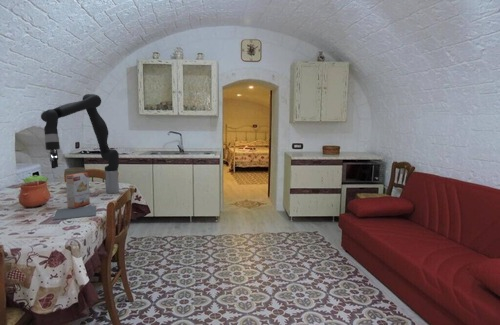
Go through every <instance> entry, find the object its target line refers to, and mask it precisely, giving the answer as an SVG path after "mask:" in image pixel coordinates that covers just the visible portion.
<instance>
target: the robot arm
mask: <svg viewBox="0 0 500 325" xmlns="http://www.w3.org/2000/svg"><path fill="white" fill-rule="evenodd" d="M101 104H102V99H101V96H99V95H98V94H94V93H92V94H91V93H86V94H85V95H83V96H82V100H79V101H78V100H77V101H74V102H69V103H66V104H63V105H59V106H57V107H55V108H52V109H47V110H45V111H43V112H42V113H41V114H40V118H41V120H42V122H44V123H45V126H44V127H43V128H44V129H43V130H44V143H45V150H46V151H49V154H48V155H49V161H50V163H51V169H56V168H58V167H59V164H58V162H59V156H58V155H59V154H58V151H59V150H60V149H61V145H60V138H59V133H58V131H59V130H58V123H59V119H61V118H64V117H67V116H70V115H73V114H76V113H78V112H81V111H84V110H86V112H87V115H88V117H89V120H90V123H91V125H92V129H93V132H94V135H95V138H96V140H97V145H98V147H99V151H100V156H101V159H102V160H103V161H105V162H108V165H106V166H104V182H105V194H111V195H112V194H118V193H119V192H120V186H119V182H120V181H119V171H118V170H119V166H120V164H119V163H120V160H119V159H120V156H119V152H118V150H116V149H113V148H112V149H110V147H109V144H108V139H109V129H108V126H107V123H106V121H105V120H104V119H103V117H102V116H101V114H100V113H99V112H98V110H97V108H98V107H99V106H101Z"/></svg>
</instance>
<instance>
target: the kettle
mask: <svg viewBox="0 0 500 325" xmlns="http://www.w3.org/2000/svg"><path fill="white" fill-rule="evenodd" d="M49 179H50V178H49V177H46V176H43V175H37V174H33V176H32V175H29V176H27V177H24V178H21V180H23V182H24V184H25V183H27V182H33V181H46V182H47V181H48V180H49Z"/></svg>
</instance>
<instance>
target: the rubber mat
mask: <svg viewBox="0 0 500 325" xmlns="http://www.w3.org/2000/svg"><path fill="white" fill-rule="evenodd" d="M96 216H97V205H87V206H86V205H84V206H80V207H77V208H68V207H66V208H58V209H56V211H55V212H54V216H53V218H52V221H61V220H71V219H80V218H81V219H82V218H88V217H96Z"/></svg>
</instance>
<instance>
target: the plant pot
mask: <svg viewBox="0 0 500 325" xmlns="http://www.w3.org/2000/svg"><path fill="white" fill-rule="evenodd" d="M63 171H64V175H65V176H66V175H72V174H78V173H86V168H85V167H70V168H69V167H68V168H64V170H63Z"/></svg>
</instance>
